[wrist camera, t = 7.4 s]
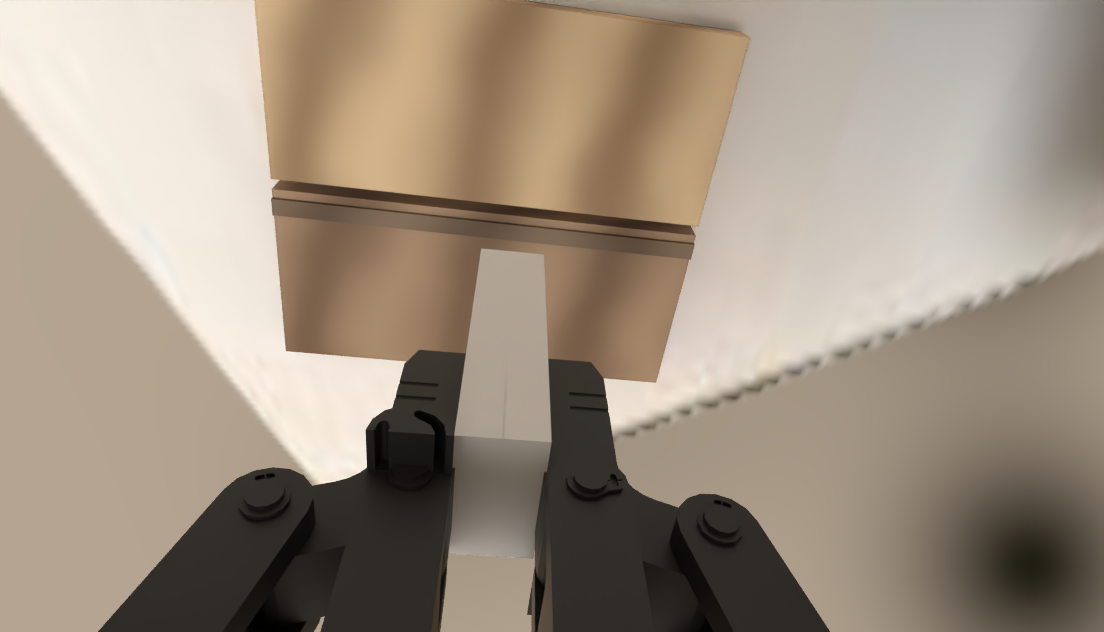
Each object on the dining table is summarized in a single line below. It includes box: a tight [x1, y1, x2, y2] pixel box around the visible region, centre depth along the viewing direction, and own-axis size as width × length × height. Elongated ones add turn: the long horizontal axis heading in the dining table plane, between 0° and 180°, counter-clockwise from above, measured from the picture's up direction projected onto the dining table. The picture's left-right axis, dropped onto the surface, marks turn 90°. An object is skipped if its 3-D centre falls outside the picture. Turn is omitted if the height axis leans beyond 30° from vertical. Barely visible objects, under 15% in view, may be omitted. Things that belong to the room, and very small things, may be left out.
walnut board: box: [271, 180, 695, 383], centre depth 34 cm, size 20×9×2 cm, turn 82°
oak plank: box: [255, 0, 750, 226], centre depth 29 cm, size 20×9×2 cm, turn 82°
